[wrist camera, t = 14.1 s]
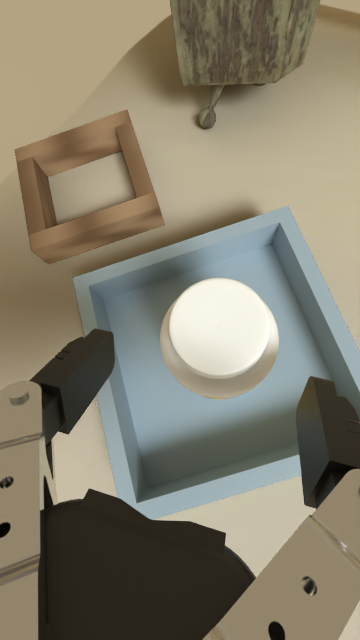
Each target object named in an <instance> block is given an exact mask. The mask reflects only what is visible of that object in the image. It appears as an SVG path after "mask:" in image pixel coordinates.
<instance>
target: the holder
mask: <svg viewBox="0 0 360 640" xmlns="http://www.w3.org/2000/svg"><path fill="white" fill-rule="evenodd" d="M120 151H123V154H124V157H125V160H126V164H127V167H128V170H129V174H130V177H131V180H132V183H133V187H134V190H135V193H136V196H137V198H136V199H133V200H130V201H127V202H124V203H121V204H118V205H115V206H112V207H109V208H106V209H104V210H101V211H98V212H95V213H92V214H89V215H86V216H83V217H80V218H77V219H74V220H71V221H69V222H66V223H63V224H60V225H57V222H56V217H55V212H54V207H53V202H52V197H51V192H50V187H49V182H48V176H51V175H54V174H57V173H60V172H63V171H65V170H68V169H71V168H74V167H77V166H80V165H82V164H85V163H88V162H91V161H94V160H97V159H100V158H102V157H105V156H108V155H111V154H114V153H117V152H120ZM15 155H16V161H17V167H18V173H19V179H20V185H21V191H22V198H23V204H24V210H25V216H26V222H27V228H28V234H29V240H30V247H31V251H32V252H34V253H35V254H36V255H37V256H39V257H40V258H41V259H42V260H44V261H45V262H46V263H47V264H50V263H53V262H56V261H59V260H62V259H65V258H68V257H71V256H74V255H77V254H80V253H83V252H86V251H89V250H92V249H95V248H98V247H101V246H104V245H106V244H109V243H112V242H115V241H118V240H121V239H124V238H127V237H130V236H133V235H136V234H139V233H142V232H145V231H148V230H151V229H154V228H157V227H160V226H163V225H165V224H164V221H163V218H162V214H161V211H160V208H159V204H158V201H157V198H156V195H155V192H154V189H153V186H152V183H151V180H150V177H149V174H148V171H147V168H146V165H145V162H144V159H143V156H142V153H141V150H140V147H139V144H138V141H137V138H136V135H135V132H134V129H133V126H132V123H131V120H130V117H129V113H128V110H125V111H122V112H119V113H116V114H113V115H111V116H108V117H105V118H102V119H99V120H97V121H94V122H91V123H88V124H85V125H83V126H80V127H77V128H74V129H71V130H69V131H66V132H63V133H60V134H57V135H54V136H52V137H49V138H46V139H44V140H40V141H38V142H35V143H32V144H29V145H26V146H24V147H21V148H18V149H15Z"/></svg>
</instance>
